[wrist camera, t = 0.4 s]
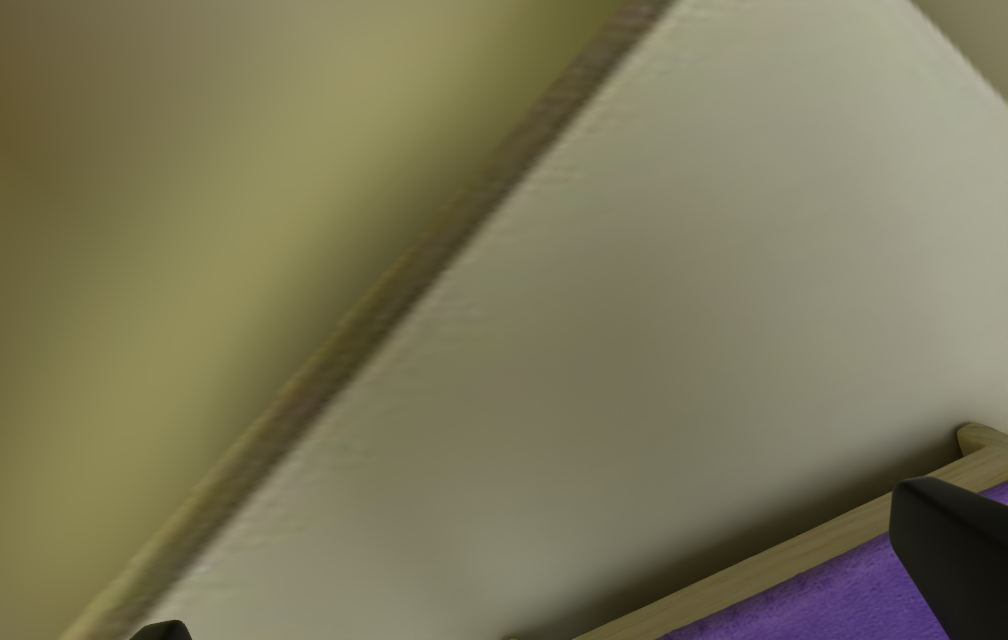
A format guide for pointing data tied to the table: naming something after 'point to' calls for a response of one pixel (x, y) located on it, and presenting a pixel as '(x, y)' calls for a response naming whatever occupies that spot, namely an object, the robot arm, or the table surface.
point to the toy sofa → (820, 576)
